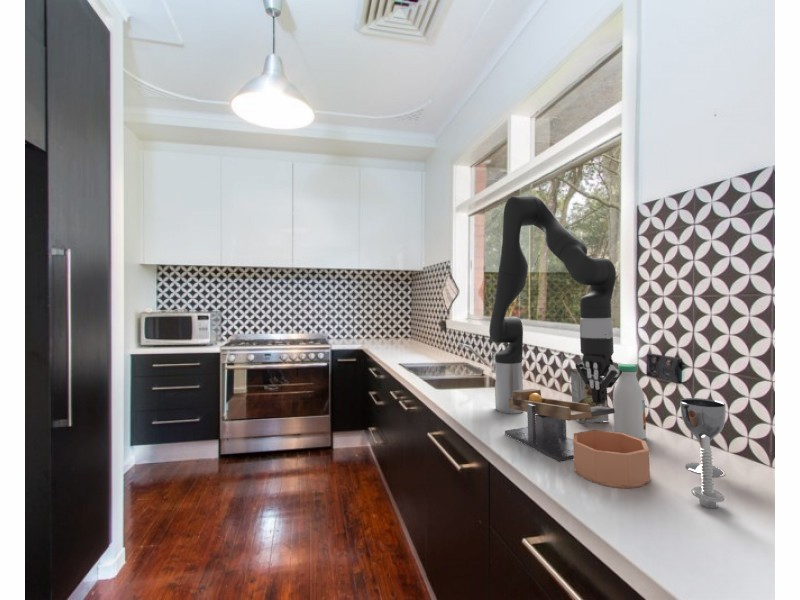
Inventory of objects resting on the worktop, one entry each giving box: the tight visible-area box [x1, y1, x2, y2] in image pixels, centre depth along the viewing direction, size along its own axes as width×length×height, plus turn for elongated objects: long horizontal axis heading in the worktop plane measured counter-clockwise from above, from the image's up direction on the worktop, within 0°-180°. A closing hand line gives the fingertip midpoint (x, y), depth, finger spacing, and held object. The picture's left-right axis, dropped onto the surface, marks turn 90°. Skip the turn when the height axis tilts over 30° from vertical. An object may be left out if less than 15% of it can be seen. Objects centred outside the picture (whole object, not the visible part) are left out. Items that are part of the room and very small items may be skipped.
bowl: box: [572, 429, 651, 489], centre depth 86 cm, size 14×14×7 cm
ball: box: [529, 393, 543, 403], centre depth 109 cm, size 4×4×4 cm
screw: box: [690, 435, 726, 509], centre depth 72 cm, size 13×5×5 cm
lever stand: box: [504, 399, 574, 463], centre depth 105 cm, size 22×12×11 cm, turn 20°
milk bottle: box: [612, 363, 647, 441], centre depth 108 cm, size 8×8×20 cm
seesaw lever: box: [509, 388, 615, 421], centre depth 106 cm, size 24×15×5 cm, turn 19°
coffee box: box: [570, 368, 610, 424], centre depth 124 cm, size 9×6×16 cm
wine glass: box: [679, 397, 727, 478], centre depth 86 cm, size 8×8×15 cm
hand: (598, 403), depth 99 cm, fingers closed
